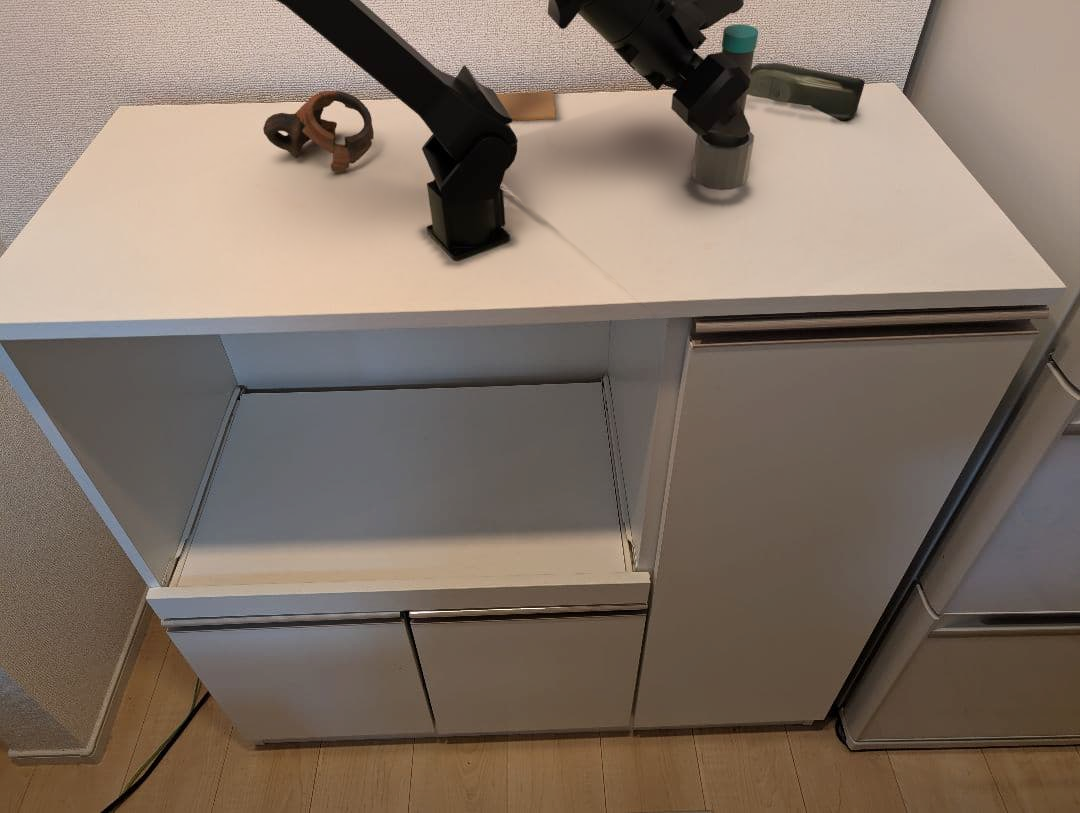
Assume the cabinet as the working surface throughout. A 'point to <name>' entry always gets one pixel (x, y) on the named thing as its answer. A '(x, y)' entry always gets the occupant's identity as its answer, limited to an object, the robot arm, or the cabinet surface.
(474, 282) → the cabinet surface
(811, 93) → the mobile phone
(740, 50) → the marker
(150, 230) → the cabinet surface
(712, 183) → the pen pot
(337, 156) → the brown curved ring piece
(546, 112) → the cork pad
